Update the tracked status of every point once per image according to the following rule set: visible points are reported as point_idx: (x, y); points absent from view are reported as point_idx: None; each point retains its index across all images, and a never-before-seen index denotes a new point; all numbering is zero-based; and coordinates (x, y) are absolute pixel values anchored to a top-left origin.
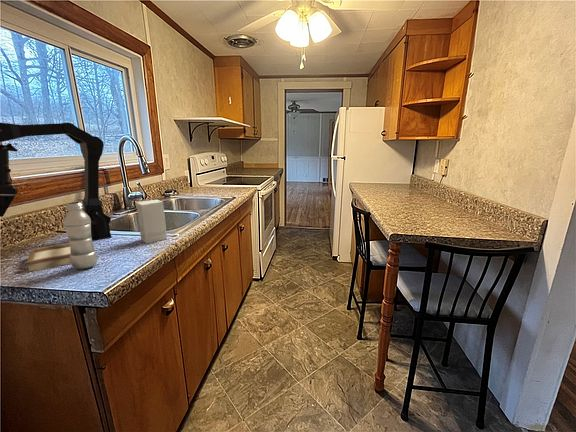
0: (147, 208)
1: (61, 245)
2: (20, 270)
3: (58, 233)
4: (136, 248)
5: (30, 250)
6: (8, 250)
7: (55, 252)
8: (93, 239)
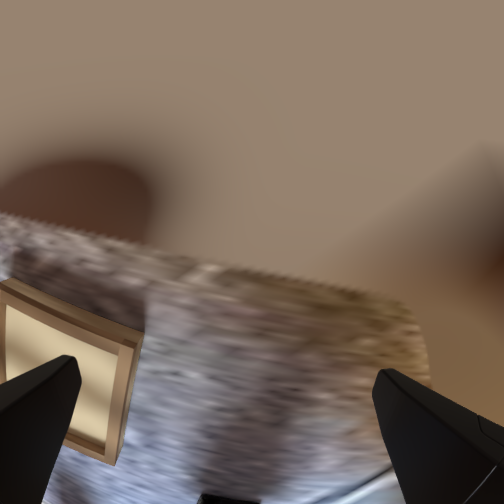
0: None
1: (108, 423)
2: (39, 264)
3: None
4: None
5: (114, 342)
6: (346, 301)
7: None
8: (200, 497)
